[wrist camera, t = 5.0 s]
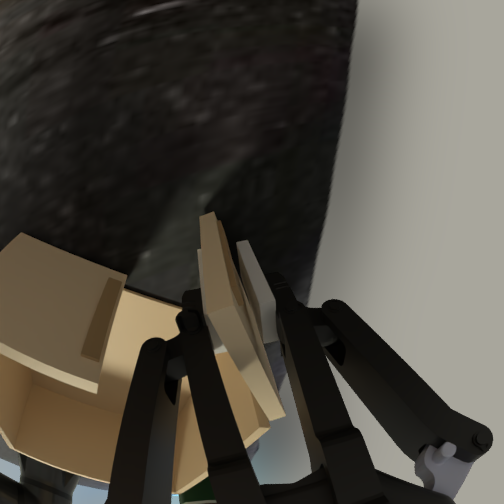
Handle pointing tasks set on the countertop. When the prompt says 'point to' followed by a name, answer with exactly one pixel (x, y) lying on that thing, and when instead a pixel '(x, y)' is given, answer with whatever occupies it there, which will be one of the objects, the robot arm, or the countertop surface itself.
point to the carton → (113, 403)
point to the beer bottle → (199, 494)
